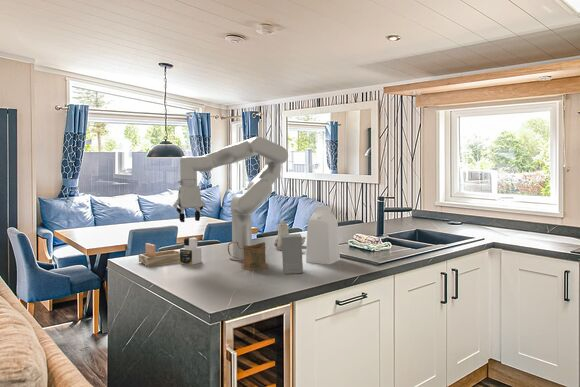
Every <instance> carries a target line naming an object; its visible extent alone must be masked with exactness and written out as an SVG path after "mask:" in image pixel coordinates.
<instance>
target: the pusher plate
mask: <svg viewBox="0 0 580 387" xmlns="http://www.w3.org/2000/svg"><path fill="white" fill-rule="evenodd" d="M144 246H145V254H146V256H147V257H156V252H157V251H156V249H157V248H156V244H153V243H149V242H145V245H144Z"/></svg>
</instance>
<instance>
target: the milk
mask: <svg viewBox="0 0 580 387" xmlns="http://www.w3.org/2000/svg"><path fill="white" fill-rule="evenodd" d="M331 210H332V209H331V208H330V206H329V205H320V204H319V205H316V206H315V208H314V210H313V213H312V214H311V215H310V217H309V219H308V220H307V229H306V255H305V262H306V263H311V264H322V265H332V264H334V263H336V262H339V261H340V260H341V256H340V255H341V253H340V240H339V237H340V236H339V225H338V223H339V221H338V220H337V218H336V216H335V215H334V213H333V212H332V211H331Z"/></svg>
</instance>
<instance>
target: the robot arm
mask: <svg viewBox="0 0 580 387" xmlns="http://www.w3.org/2000/svg"><path fill="white" fill-rule="evenodd" d="M257 155H259V156H261V157H263V158H264V159H265V165H264V166H263V169H262V170H261V171H260V172H259V173H258V174H257V175H256V176H255V177H254V178H253V179H252V180H251V181H250V182H249V183H248V185H247V186H246V188H247V189H246V191H245V193H238V194H235V195H233V196H232V198H231V199H230V204H229V206H230V216H231V234H232V235H231V239H232V240H231V242H234V241H238V245H239V247H240V248H244V247H243V246H251V245H253V237H252V236H253V235H252V232H253V231H252V230H253V229H252V226H253V224H252V214H253V213H254V212H255V211H256V210H257V209H259V207H261V205H262V204H264V203H265V201H267V199H268V198H269V197H270V196H271V194H272V191H273V185H274V183H275V182H276V181H277V180H278V178H279V177H280V175H281V170H282V169H281V168H282V164H284V163H285V162H287V161H288V158H289V151H288V150H287V149H286V148H285V147H284V146H282V145H279V144H277V143H275V142H273V141H271V140H269V139H268V138H265V137H262V136H255V137H251V138H248V139H245V140H241V141H239V142H236V143H234V144H231V145H228V146H225V147H223V148H220V149H219V150H216V151H213V152H211V153H207V154H204V155H201V156H192V155H191V156H181V157H180V159H179V169H180V170H179V171H180V173H179V174H180V175H179V176H180V180H178V181H177V184H178V185H180V186H179V188H178V193H177V194H178V195H177V201H175V202H174V204H172V208H174V209H175V211H176V212H177V213H178V214H179V216H178V218H179V222H180V223H185V213H184V212H185V210H186V209H189V208H194V210H195V212H194V220H195V221H196V222H199V221H200V219H201V212H202V210H203V209H204V207H205V205H206V202H205V201H203V200H202V194H201V189H200V186H199V185H198V172H199V173H208V172H211V171H212V170H214V169H215V168H218V167H222V166H226V165H231V164H235V163H238V162H242V161H243V160H246V159H249V158H251V157H255V156H257ZM231 244H232V247H231V248H232V254H231V256H234V257H237V258H238V259H239V260H241V261H244V249H240V248H238V246H237V242H236V243H231ZM231 256H230V255H229V257H228V258H229V259H230V260H232V261H239V260H238V259H236V258H234V257H231Z"/></svg>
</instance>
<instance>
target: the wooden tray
mask: <svg viewBox="0 0 580 387" xmlns="http://www.w3.org/2000/svg"><path fill="white" fill-rule="evenodd" d="M139 262H141V263H143V264H145V265H144V266H146V265H147V266H146V267H148V266H150V267H156V266H155V265H157V266H163V265H170V264H176V263H180V250H176V249H171V250H170V249H169V250H163V251H156V257H147V256H146V253H140V254H138V263H139ZM141 263H140V264H141ZM143 264H142V265H143Z"/></svg>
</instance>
